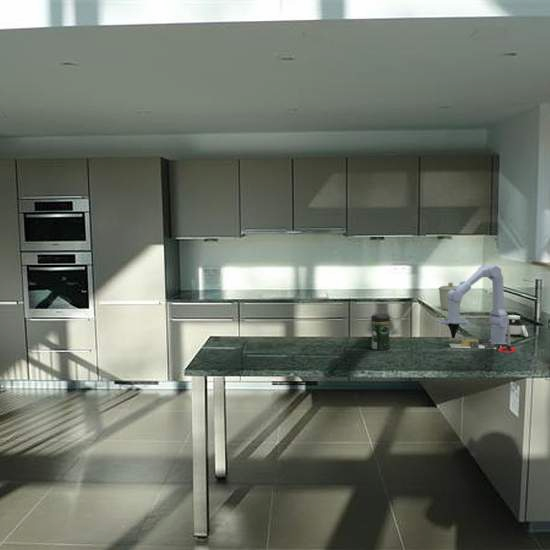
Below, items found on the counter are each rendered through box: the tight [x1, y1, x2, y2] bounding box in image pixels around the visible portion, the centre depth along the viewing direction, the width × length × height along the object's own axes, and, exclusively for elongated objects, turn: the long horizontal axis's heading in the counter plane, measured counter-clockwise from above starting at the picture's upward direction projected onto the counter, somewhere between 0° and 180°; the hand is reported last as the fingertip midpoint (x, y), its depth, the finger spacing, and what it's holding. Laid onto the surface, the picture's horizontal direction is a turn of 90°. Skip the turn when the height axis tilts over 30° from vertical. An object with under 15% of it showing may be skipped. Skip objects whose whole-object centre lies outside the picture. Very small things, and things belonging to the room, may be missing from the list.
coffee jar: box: [370, 313, 391, 351], centre depth 298 cm, size 10×8×19 cm
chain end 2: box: [481, 340, 497, 349], centre depth 299 cm, size 8×6×2 cm
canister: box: [438, 282, 462, 311], centre depth 431 cm, size 18×18×21 cm
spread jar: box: [505, 314, 529, 338], centre depth 328 cm, size 12×11×12 cm
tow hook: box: [497, 326, 517, 354], centre depth 289 cm, size 8×13×9 cm
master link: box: [461, 338, 479, 347], centre depth 300 cm, size 3×8×4 cm, turn 80°
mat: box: [448, 343, 498, 350], centre depth 301 cm, size 9×23×1 cm, turn 80°
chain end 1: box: [470, 342, 480, 349], centre depth 300 cm, size 8×4×2 cm, turn 170°
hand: (453, 337), depth 302 cm, fingers closed
